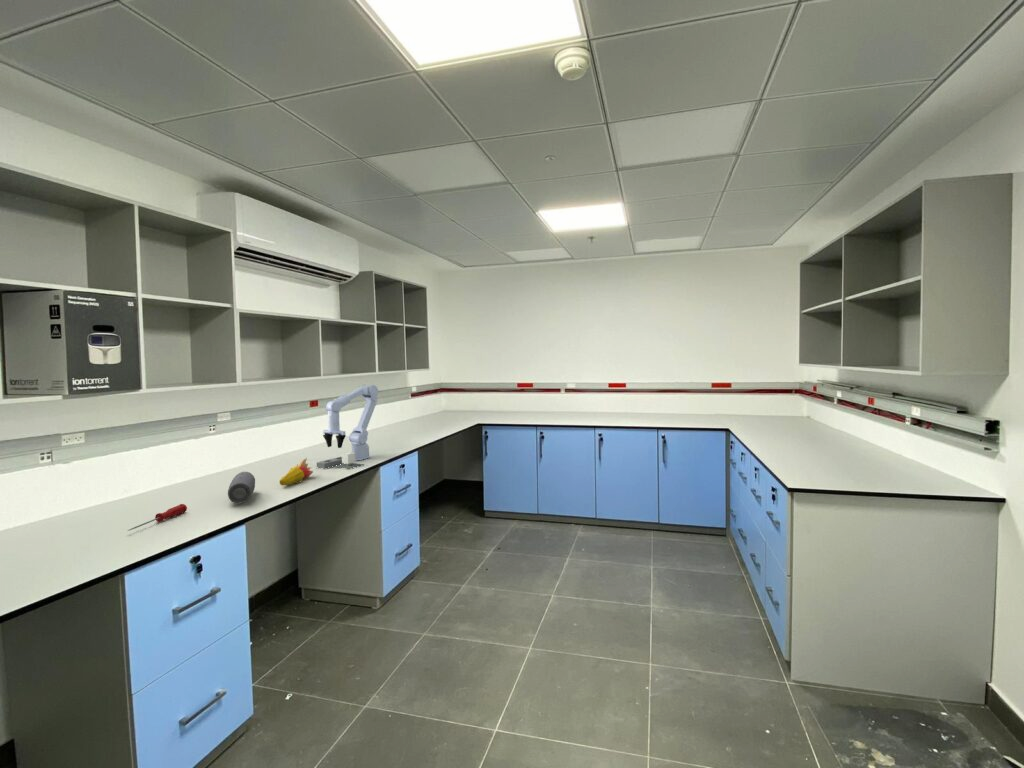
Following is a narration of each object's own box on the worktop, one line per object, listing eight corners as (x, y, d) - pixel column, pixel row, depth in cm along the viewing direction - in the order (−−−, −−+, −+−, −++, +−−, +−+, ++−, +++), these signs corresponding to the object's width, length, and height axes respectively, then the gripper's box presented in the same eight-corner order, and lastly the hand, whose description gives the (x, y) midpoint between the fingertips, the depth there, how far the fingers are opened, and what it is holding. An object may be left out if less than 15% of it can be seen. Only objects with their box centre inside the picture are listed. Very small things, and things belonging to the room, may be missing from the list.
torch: (280, 496, 224) (305, 476, 248) (295, 488, 223) (318, 469, 247) (270, 481, 222) (296, 462, 247) (285, 473, 221) (309, 455, 246)
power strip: (342, 461, 281) (341, 455, 281) (349, 462, 278) (349, 456, 278) (316, 468, 265) (316, 461, 265) (324, 469, 262) (324, 462, 262)
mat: (348, 463, 275) (348, 462, 275) (363, 465, 271) (363, 464, 271) (333, 467, 266) (333, 466, 266) (348, 469, 261) (348, 468, 261)
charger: (348, 464, 271) (348, 452, 271) (355, 464, 269) (354, 452, 269) (342, 465, 267) (341, 453, 266) (348, 466, 265) (347, 454, 264)
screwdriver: (123, 535, 165) (122, 525, 165) (179, 512, 190) (179, 503, 190) (133, 535, 165) (132, 525, 164) (188, 512, 189) (187, 503, 189)
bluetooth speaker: (232, 494, 215) (231, 471, 214) (256, 491, 219) (255, 469, 218) (226, 508, 194) (225, 483, 194) (253, 505, 198) (252, 480, 197)
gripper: (318, 423, 273) (319, 447, 274) (338, 424, 267) (339, 449, 267) (328, 421, 279) (329, 445, 280) (347, 422, 273) (348, 447, 274)
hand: (334, 447), depth 274 cm, fingers open, 7 cm apart
